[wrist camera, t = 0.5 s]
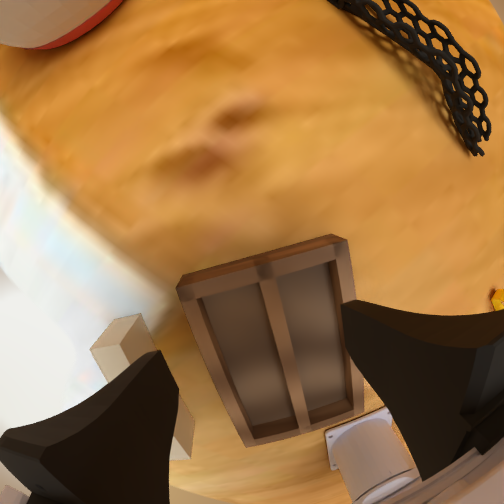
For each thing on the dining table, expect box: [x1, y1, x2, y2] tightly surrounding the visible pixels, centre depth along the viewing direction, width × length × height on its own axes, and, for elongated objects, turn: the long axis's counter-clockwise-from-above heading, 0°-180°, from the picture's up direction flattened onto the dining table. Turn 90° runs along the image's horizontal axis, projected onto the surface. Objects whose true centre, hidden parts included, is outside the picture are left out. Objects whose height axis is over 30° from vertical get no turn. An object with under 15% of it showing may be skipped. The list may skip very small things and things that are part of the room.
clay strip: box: [90, 313, 195, 461], centre depth 18 cm, size 12×2×5 cm, turn 16°
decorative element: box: [327, 0, 491, 157], centre depth 14 cm, size 22×5×6 cm, turn 48°
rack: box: [176, 234, 364, 448], centre depth 20 cm, size 16×11×3 cm
